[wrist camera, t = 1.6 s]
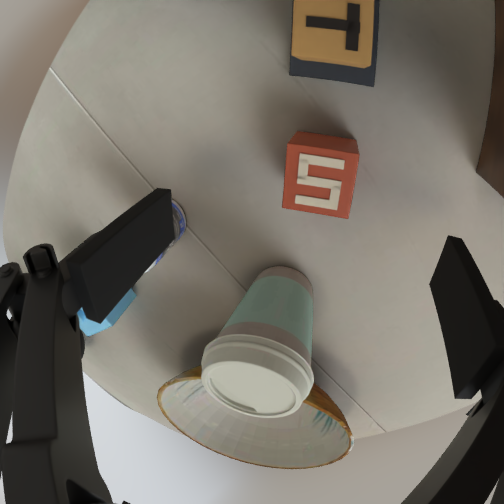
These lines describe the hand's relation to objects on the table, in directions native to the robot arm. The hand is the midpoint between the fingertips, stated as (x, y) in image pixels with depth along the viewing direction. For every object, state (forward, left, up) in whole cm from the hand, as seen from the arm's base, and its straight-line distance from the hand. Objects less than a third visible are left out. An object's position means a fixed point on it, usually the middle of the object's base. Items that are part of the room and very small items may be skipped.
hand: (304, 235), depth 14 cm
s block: (0, 0, -11) cm, 11 cm away
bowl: (+30, -2, -12) cm, 33 cm away
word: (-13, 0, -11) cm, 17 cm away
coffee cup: (+13, -2, -12) cm, 17 cm away
